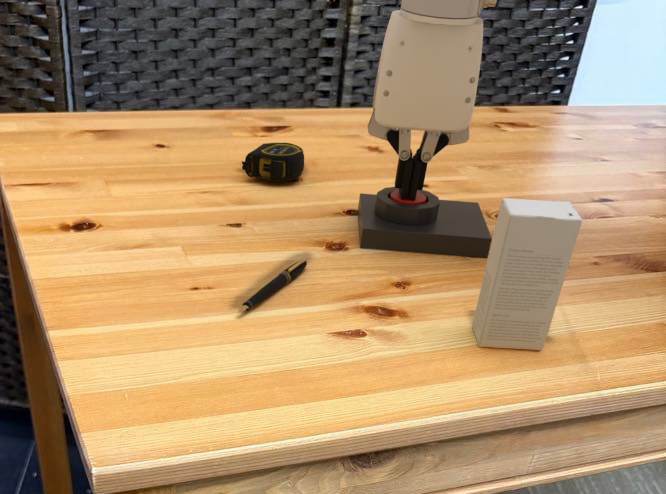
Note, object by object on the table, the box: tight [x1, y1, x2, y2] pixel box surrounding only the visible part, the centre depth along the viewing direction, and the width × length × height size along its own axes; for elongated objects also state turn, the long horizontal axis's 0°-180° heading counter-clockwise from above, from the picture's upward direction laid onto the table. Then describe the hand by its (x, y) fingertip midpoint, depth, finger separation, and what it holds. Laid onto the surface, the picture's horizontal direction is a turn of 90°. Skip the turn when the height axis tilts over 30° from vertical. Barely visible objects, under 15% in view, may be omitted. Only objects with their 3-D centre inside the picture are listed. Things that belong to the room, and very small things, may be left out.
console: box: [357, 186, 493, 259], centre depth 92 cm, size 14×11×4 cm
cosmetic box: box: [471, 197, 583, 351], centre depth 71 cm, size 6×4×12 cm
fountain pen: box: [237, 258, 308, 314], centre depth 79 cm, size 14×1×2 cm, turn 151°
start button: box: [390, 190, 426, 205], centre depth 91 cm, size 4×4×2 cm
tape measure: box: [241, 142, 305, 183], centre depth 103 cm, size 7×7×4 cm
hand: (407, 195), depth 90 cm, fingers closed
